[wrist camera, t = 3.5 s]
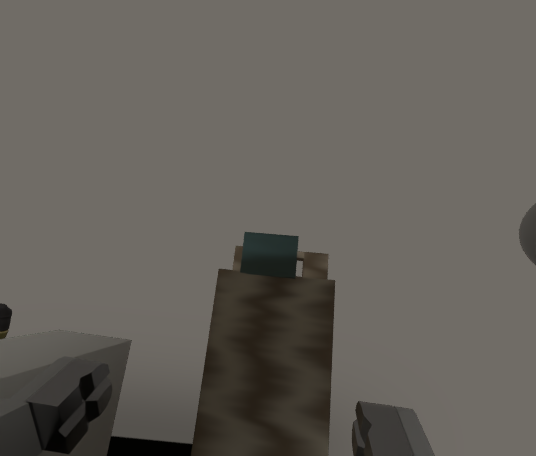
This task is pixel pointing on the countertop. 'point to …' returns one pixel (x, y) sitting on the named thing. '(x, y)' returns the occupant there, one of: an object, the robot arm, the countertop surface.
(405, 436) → the robot arm
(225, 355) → the brown boxy piece
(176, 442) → the countertop surface
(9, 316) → the coffee jar
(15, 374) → the pedestal
